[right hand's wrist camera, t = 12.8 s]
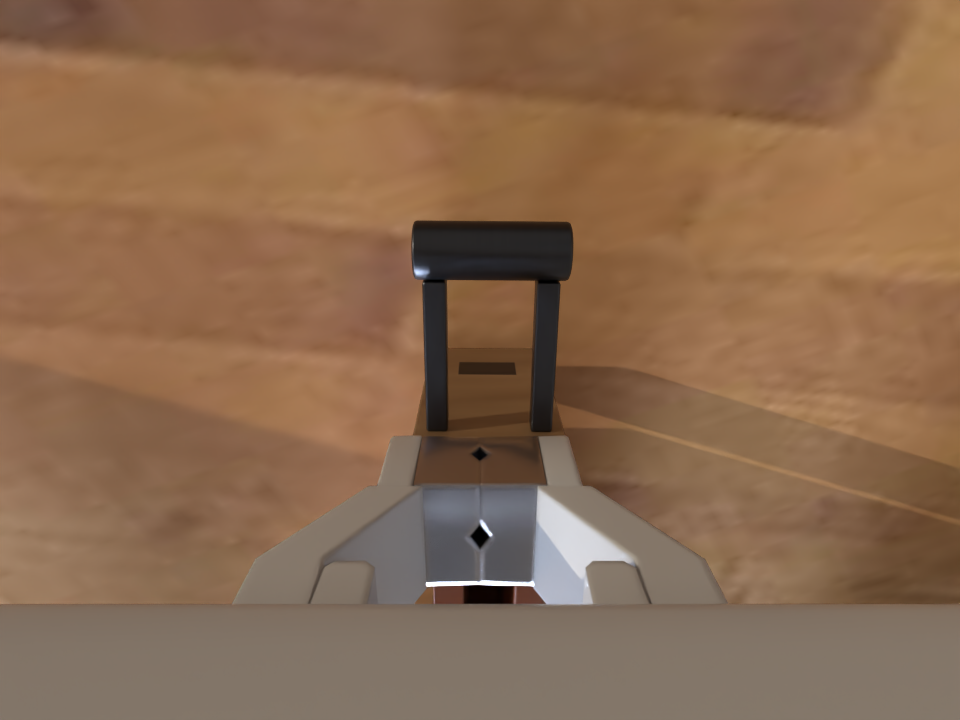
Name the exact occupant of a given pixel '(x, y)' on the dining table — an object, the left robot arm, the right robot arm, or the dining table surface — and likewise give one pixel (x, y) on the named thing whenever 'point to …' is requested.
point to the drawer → (490, 371)
